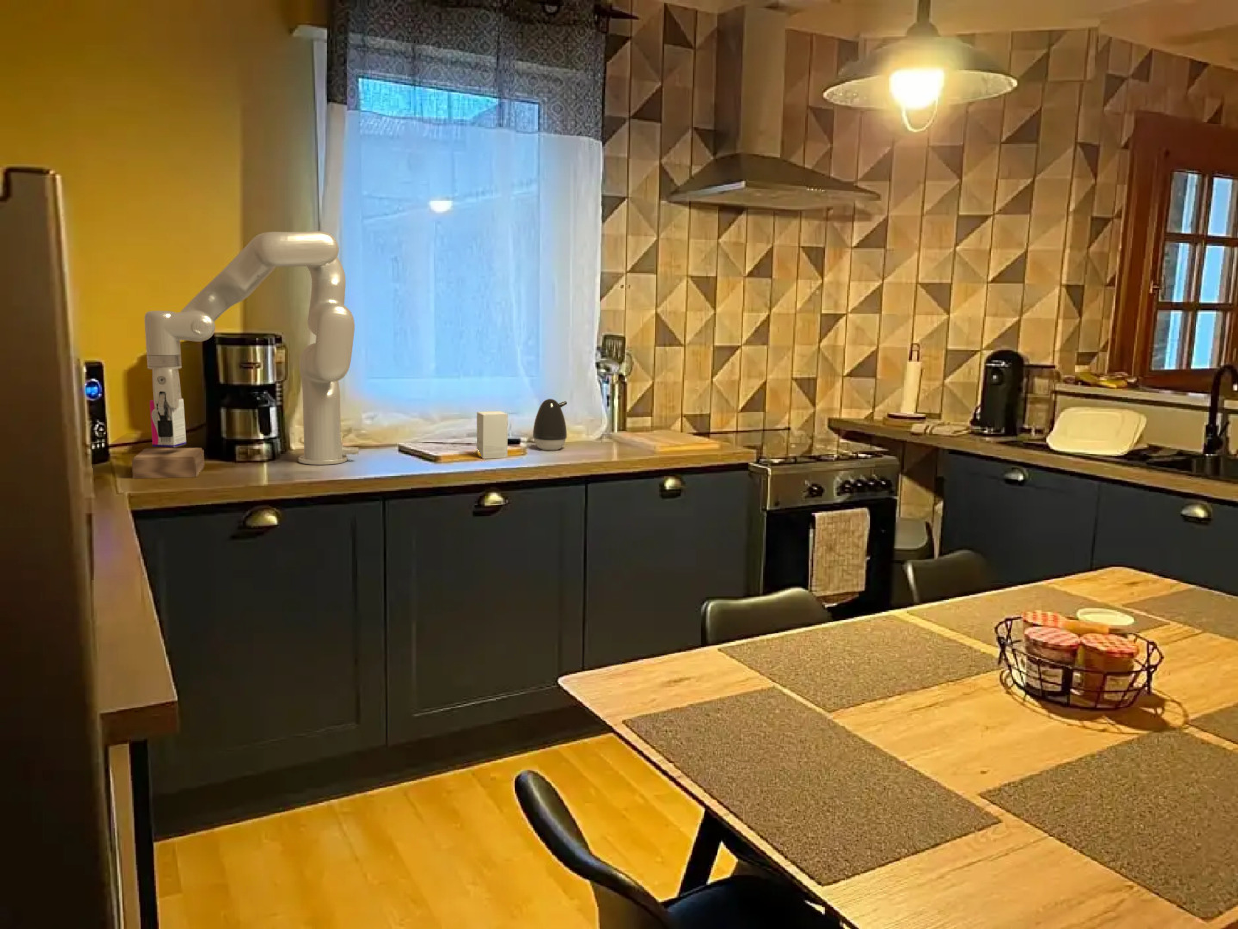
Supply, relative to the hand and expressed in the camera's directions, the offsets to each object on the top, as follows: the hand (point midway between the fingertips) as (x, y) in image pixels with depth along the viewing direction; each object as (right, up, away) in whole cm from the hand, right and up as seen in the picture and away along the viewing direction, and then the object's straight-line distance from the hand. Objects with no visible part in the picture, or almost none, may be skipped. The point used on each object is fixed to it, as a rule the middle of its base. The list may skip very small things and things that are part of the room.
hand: (168, 433), depth 238 cm
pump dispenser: (+90, -3, +53) cm, 105 cm away
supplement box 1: (0, -3, +1) cm, 3 cm away
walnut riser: (0, -9, +2) cm, 10 cm away
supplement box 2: (+75, -5, +38) cm, 84 cm away
